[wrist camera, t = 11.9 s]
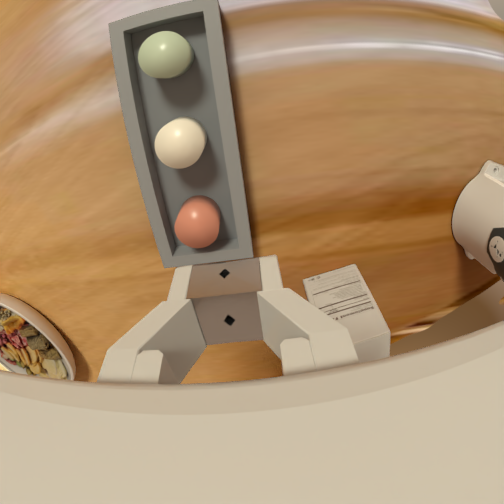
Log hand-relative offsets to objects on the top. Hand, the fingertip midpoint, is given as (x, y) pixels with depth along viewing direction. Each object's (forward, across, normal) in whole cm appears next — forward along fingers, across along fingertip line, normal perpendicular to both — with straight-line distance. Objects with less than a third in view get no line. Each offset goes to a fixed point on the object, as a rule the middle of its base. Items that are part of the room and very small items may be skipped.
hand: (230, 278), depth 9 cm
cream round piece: (+28, -6, 0) cm, 28 cm away
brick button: (+28, -6, -10) cm, 30 cm away
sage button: (+28, -6, +10) cm, 30 cm away
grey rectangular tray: (+29, -6, 0) cm, 30 cm away
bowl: (+30, -55, -33) cm, 71 cm away
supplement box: (+29, +12, -27) cm, 42 cm away
